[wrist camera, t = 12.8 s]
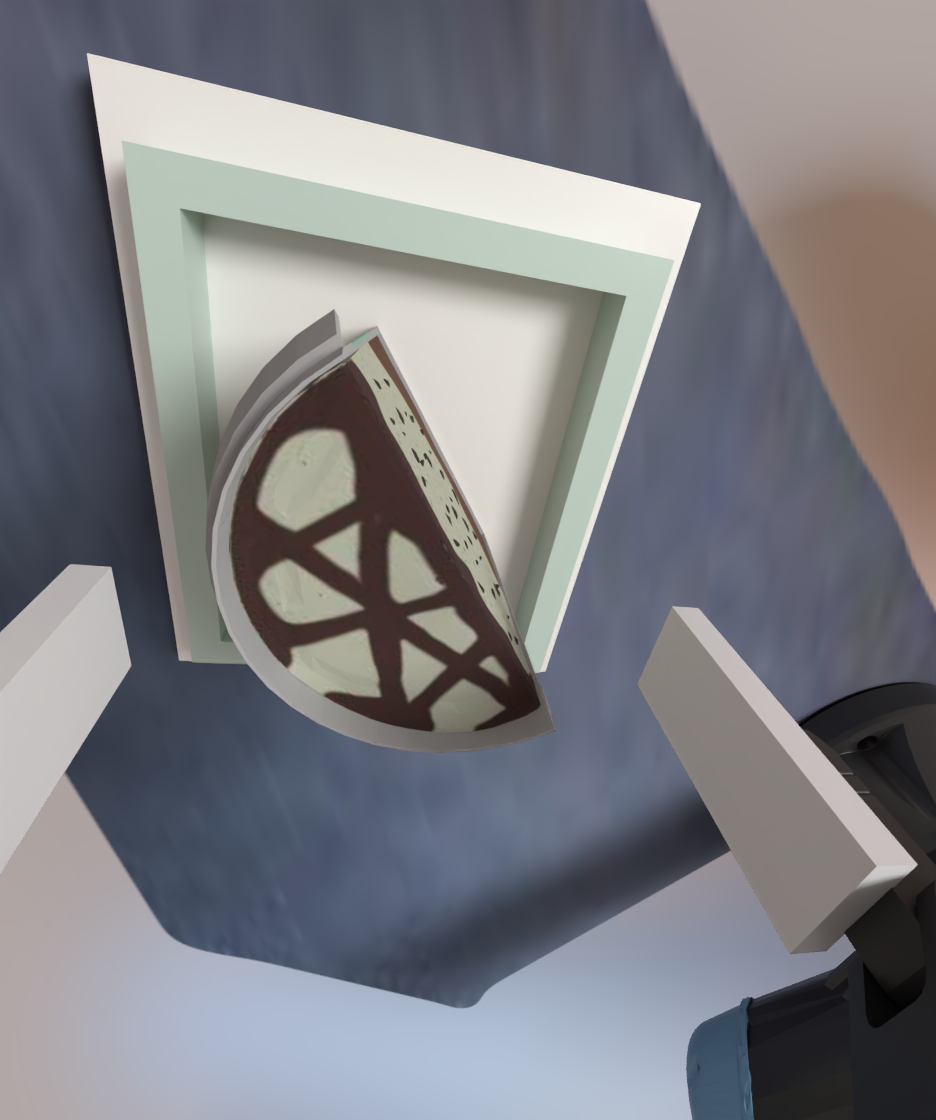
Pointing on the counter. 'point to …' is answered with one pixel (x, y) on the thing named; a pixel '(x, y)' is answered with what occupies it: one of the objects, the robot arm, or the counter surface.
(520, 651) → the food container
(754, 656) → the counter surface
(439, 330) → the pocket plate
